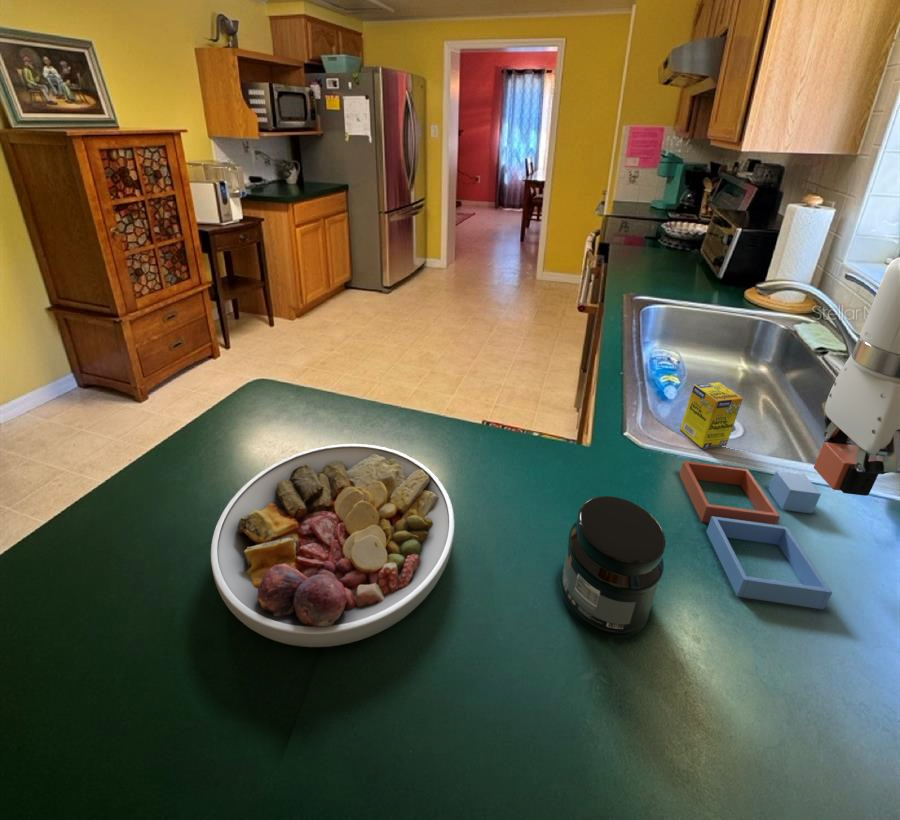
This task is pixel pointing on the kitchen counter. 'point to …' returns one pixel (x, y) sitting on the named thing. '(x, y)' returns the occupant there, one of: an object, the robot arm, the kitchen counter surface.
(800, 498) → the blue block
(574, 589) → the supplement container
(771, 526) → the blue bin
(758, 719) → the kitchen counter surface
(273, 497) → the bowl
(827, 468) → the terracotta block
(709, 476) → the terracotta bin
